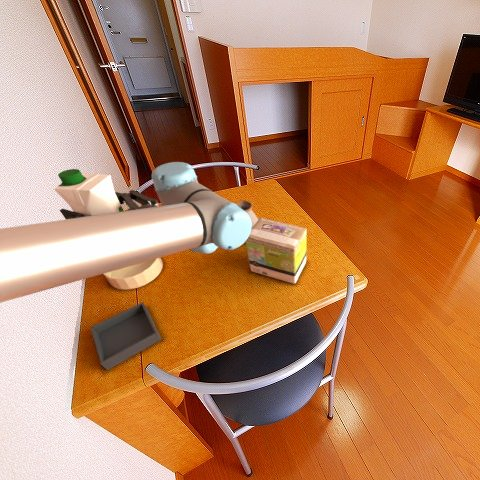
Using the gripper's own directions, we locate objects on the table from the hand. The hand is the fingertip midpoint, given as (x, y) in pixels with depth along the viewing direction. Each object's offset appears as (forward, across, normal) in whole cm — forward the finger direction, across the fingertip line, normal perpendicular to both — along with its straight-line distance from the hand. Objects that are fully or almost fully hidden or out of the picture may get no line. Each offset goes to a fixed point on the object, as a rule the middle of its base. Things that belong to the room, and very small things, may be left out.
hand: (83, 203), depth 68 cm
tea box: (-44, +17, -24) cm, 52 cm away
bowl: (-4, +1, -24) cm, 24 cm away
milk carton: (-5, 0, -11) cm, 12 cm away
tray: (-19, -17, -24) cm, 35 cm away
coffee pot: (-23, +25, -24) cm, 41 cm away
